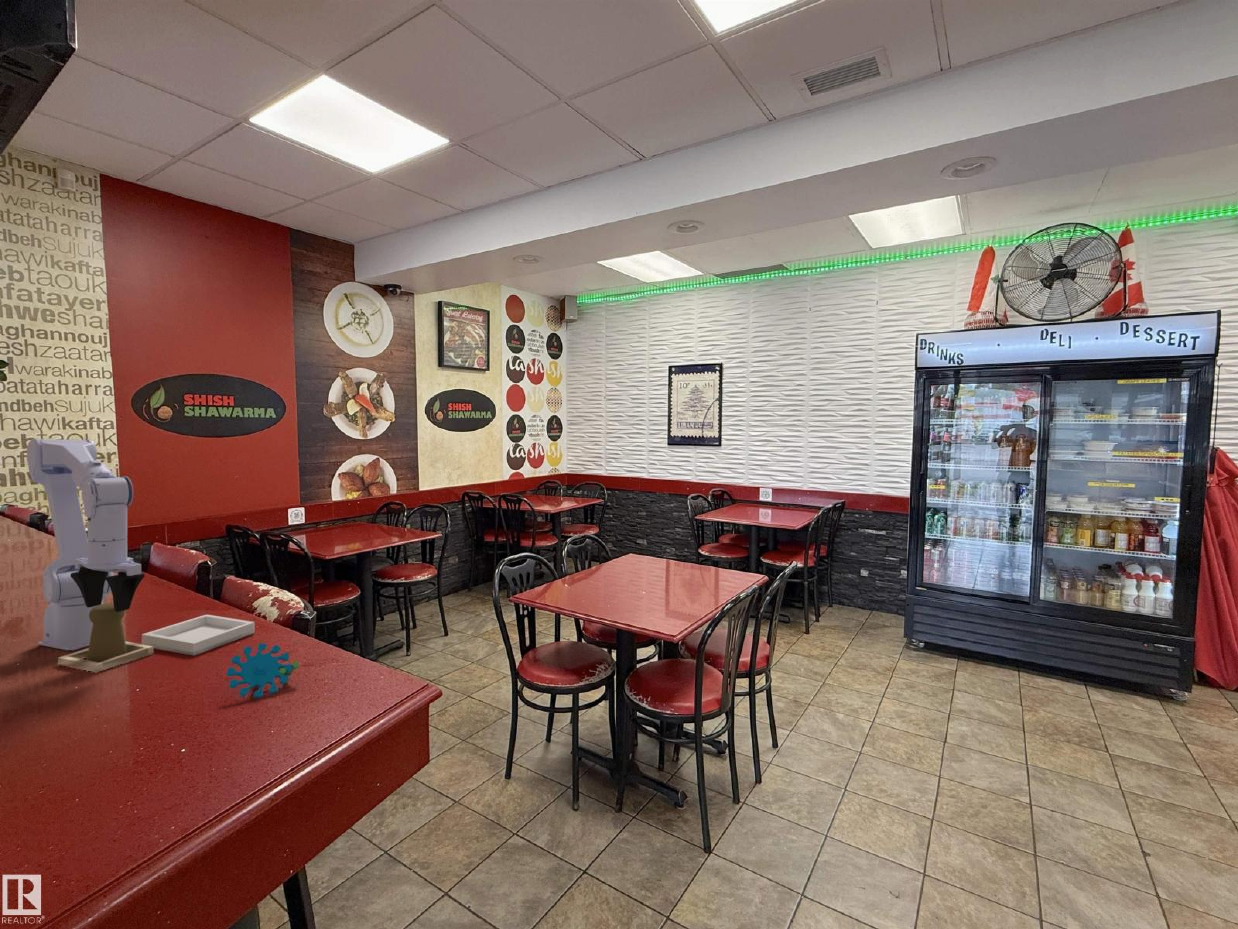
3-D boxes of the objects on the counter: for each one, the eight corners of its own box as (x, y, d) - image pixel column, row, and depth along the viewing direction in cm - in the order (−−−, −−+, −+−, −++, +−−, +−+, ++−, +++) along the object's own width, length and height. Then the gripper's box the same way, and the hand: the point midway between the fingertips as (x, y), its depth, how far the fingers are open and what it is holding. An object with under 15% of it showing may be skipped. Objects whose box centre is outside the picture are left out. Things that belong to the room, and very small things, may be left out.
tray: (141, 646, 116) (141, 634, 116) (206, 625, 130) (206, 614, 130) (193, 655, 113) (193, 643, 113) (254, 633, 126) (254, 622, 126)
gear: (223, 698, 93) (230, 642, 99) (219, 712, 97) (226, 657, 103) (298, 692, 100) (300, 640, 106) (291, 705, 103) (294, 654, 109)
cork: (102, 667, 106) (102, 610, 105) (77, 663, 107) (77, 607, 106) (135, 655, 112) (136, 601, 111) (111, 651, 113) (111, 598, 112)
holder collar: (57, 665, 106) (57, 657, 106) (116, 646, 115) (116, 639, 115) (96, 673, 103) (96, 665, 103) (153, 653, 113) (153, 646, 113)
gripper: (157, 538, 110) (157, 606, 111) (103, 533, 114) (104, 598, 114) (117, 545, 103) (118, 617, 104) (61, 538, 107) (62, 608, 108)
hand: (108, 608), depth 109 cm, fingers open, 7 cm apart
